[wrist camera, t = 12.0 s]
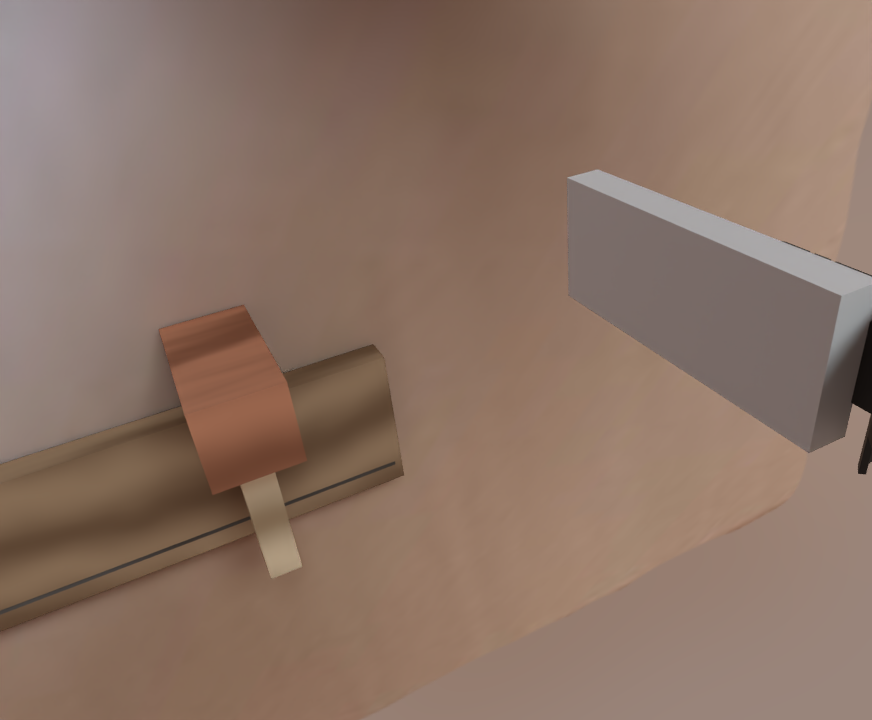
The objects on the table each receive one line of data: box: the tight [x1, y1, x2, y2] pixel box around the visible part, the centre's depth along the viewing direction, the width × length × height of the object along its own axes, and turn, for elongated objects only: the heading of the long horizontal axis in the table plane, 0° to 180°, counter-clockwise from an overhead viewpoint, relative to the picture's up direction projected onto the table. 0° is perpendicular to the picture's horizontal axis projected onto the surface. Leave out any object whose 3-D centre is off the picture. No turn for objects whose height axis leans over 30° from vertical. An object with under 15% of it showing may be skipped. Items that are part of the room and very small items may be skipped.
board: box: [0, 345, 404, 631], centre depth 46 cm, size 10×30×2 cm, turn 97°
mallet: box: [159, 305, 307, 579], centre depth 43 cm, size 15×5×10 cm, turn 7°
